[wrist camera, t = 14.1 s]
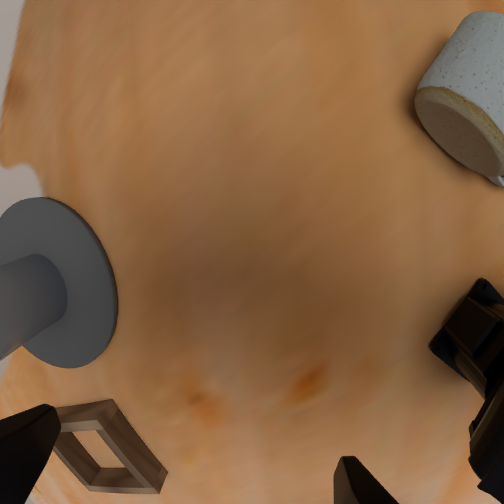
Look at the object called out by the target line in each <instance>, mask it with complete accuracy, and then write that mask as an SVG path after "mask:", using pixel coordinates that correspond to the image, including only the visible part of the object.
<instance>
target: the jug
mask: <svg viewBox="0 0 504 504" xmlns="http://www.w3.org/2000/svg"><path fill="white" fill-rule="evenodd" d="M66 307H67V291H66V286H65V283H64V280H63V278H62V276H61V274H60V272H59V270H58V269H57V267H56V266H55V265H54V264H53V263H52V262H51V261H50V260H49V259H48V258H46V257H45V256H42V255H40V254H31V255H28V256H25V257H22V258H20V259H17V260H14V261H11V262H8V263H6V264H3V265H0V361H1V360H2V359H4V358H5V357H6V356H8V355H9V354H11V353H12V352H14V351H15V350H16V349H18V348H19V347H21V346H22V345H23V344H25V343H26V342H28V341H29V340H31V339H32V338H34V337H35V336H36V335H38V334H39V333H41V332H42V331H44V330H45V329H47V328H48V327H50V326H51V325H52V324H54V323H55V322H57V321H58V320H60V319H61V318H62V317H63V315H64V313H65V311H66Z"/></svg>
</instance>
